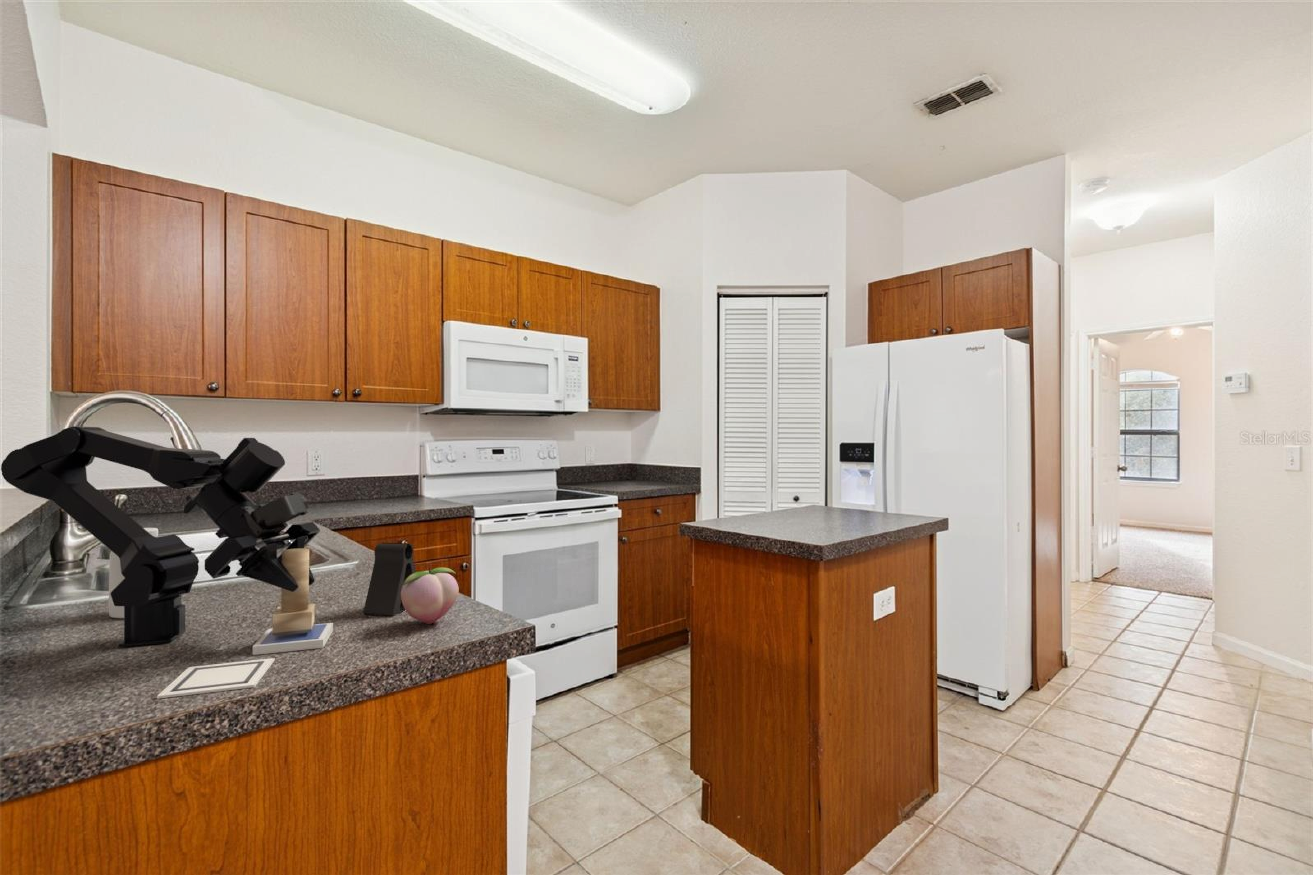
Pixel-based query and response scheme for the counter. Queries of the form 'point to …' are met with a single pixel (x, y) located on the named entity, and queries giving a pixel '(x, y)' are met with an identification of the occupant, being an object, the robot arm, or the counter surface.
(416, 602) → the decorative fruit
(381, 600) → the phone stand
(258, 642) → the ink pad
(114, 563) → the pill bottle
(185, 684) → the card
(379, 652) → the counter surface
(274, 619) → the stamp
